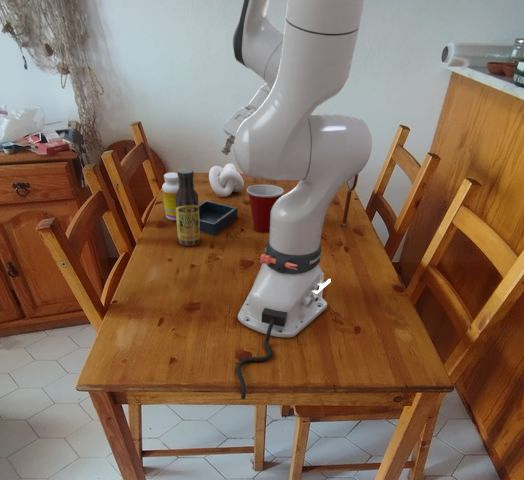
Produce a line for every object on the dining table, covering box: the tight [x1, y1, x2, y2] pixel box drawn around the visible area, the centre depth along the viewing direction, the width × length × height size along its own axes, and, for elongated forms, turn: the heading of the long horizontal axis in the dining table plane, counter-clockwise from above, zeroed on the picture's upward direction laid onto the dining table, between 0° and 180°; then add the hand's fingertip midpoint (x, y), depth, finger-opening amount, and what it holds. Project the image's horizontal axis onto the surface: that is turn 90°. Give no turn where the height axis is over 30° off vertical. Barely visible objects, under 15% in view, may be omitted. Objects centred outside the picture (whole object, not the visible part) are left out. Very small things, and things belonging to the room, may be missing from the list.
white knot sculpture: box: [208, 162, 245, 198], centre depth 143 cm, size 11×12×9 cm
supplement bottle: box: [161, 171, 179, 222], centre depth 126 cm, size 7×7×13 cm
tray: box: [199, 200, 238, 236], centre depth 127 cm, size 14×12×3 cm
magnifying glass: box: [342, 173, 359, 227], centre depth 123 cm, size 9×2×20 cm, turn 4°
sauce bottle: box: [175, 167, 201, 247], centre depth 112 cm, size 6×6×20 cm
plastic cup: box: [246, 184, 285, 233], centre depth 122 cm, size 11×11×12 cm
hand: (231, 158), depth 108 cm, fingers open, 8 cm apart
